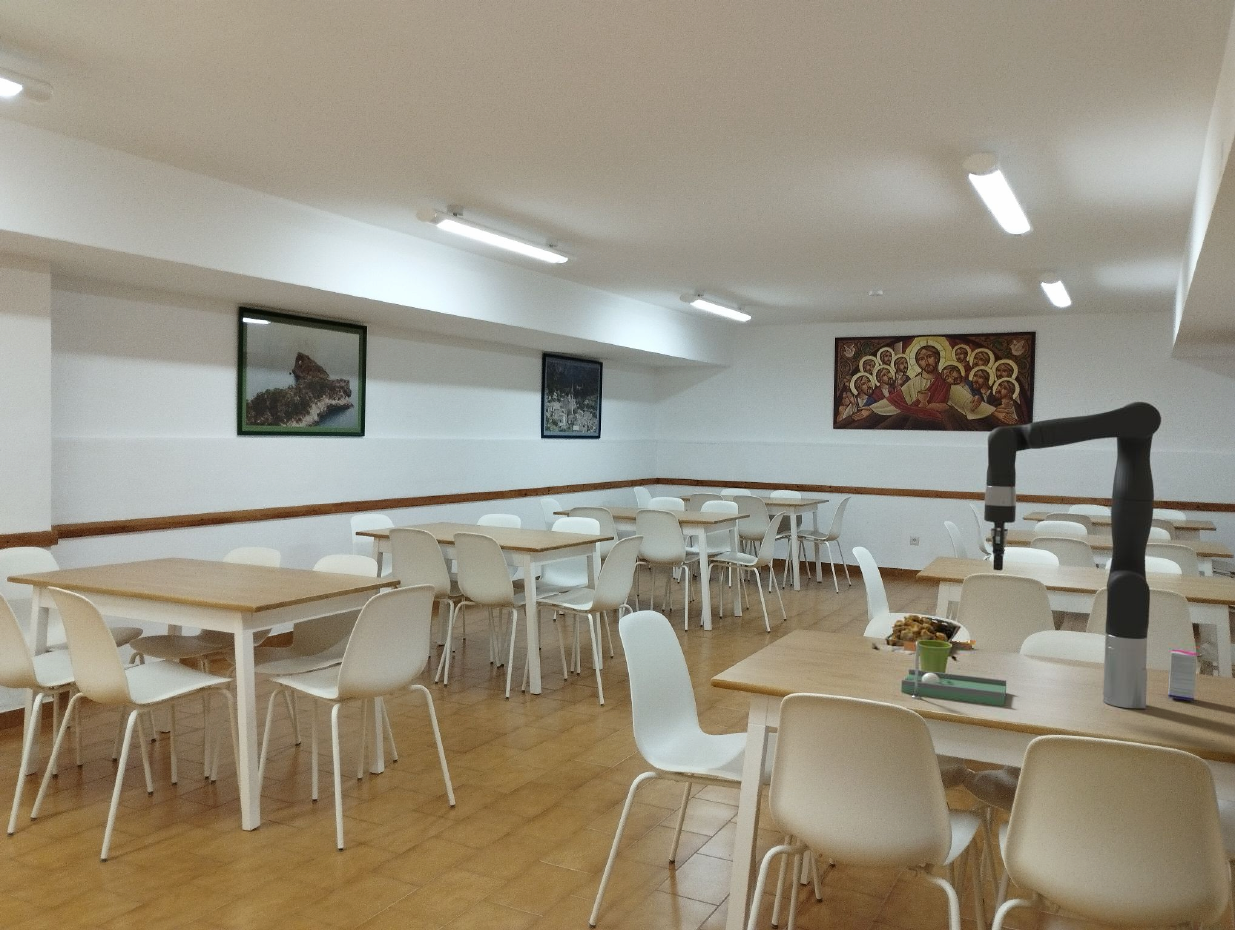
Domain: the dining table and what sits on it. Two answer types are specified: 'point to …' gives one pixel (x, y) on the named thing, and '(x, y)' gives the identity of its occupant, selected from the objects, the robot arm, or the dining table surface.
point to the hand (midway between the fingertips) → (998, 569)
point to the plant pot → (934, 655)
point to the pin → (915, 647)
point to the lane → (958, 687)
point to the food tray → (921, 633)
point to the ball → (930, 678)
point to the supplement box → (1182, 674)
